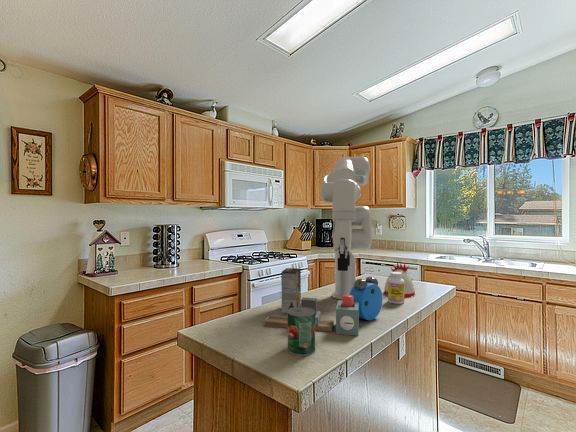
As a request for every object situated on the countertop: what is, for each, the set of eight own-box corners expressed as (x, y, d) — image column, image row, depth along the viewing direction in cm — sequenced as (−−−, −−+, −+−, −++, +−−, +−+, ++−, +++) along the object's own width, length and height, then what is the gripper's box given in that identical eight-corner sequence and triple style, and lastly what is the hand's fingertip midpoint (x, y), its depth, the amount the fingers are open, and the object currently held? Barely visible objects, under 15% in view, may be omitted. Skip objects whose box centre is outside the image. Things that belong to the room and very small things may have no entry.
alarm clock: (369, 313, 120) (369, 274, 120) (383, 317, 115) (383, 276, 115) (347, 320, 111) (347, 278, 111) (361, 325, 106) (361, 281, 106)
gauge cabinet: (338, 323, 108) (338, 300, 108) (358, 324, 107) (358, 301, 107) (335, 334, 98) (335, 309, 98) (358, 336, 97) (358, 310, 97)
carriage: (301, 316, 111) (301, 295, 111) (320, 317, 109) (320, 296, 109) (296, 323, 103) (296, 301, 103) (317, 325, 101) (317, 302, 101)
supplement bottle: (388, 303, 132) (388, 273, 132) (387, 299, 138) (387, 271, 138) (405, 304, 130) (405, 274, 130) (403, 300, 137) (403, 271, 137)
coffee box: (286, 306, 129) (285, 267, 129) (301, 307, 128) (301, 268, 128) (281, 313, 120) (281, 271, 120) (297, 314, 119) (297, 272, 119)
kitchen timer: (415, 298, 140) (415, 265, 140) (384, 296, 145) (384, 264, 144) (413, 291, 154) (413, 261, 153) (384, 289, 158) (384, 260, 158)
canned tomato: (321, 349, 87) (321, 310, 87) (301, 358, 82) (301, 317, 82) (301, 341, 93) (301, 305, 93) (281, 349, 87) (281, 310, 87)
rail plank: (270, 319, 113) (270, 315, 113) (333, 324, 107) (333, 319, 107) (264, 325, 106) (264, 321, 106) (331, 331, 101) (331, 326, 101)
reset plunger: (342, 309, 105) (342, 294, 105) (353, 309, 104) (353, 295, 104) (341, 312, 101) (341, 297, 101) (353, 313, 101) (353, 297, 101)
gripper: (335, 216, 112) (335, 263, 112) (329, 217, 96) (329, 272, 96) (356, 216, 110) (356, 264, 110) (354, 217, 94) (354, 273, 94)
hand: (343, 268), depth 103 cm, fingers open, 9 cm apart
